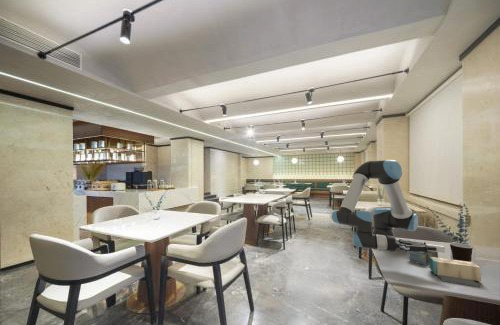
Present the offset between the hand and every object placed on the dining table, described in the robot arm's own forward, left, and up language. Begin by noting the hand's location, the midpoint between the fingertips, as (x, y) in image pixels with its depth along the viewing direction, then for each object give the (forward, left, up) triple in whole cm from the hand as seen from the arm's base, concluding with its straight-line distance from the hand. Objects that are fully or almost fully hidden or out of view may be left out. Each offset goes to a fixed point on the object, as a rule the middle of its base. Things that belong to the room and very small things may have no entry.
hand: (444, 249), depth 99 cm
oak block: (0, -5, -8) cm, 10 cm away
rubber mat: (0, +2, -12) cm, 12 cm away
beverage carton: (-20, -3, -13) cm, 23 cm away
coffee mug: (-20, +14, -12) cm, 28 cm away
